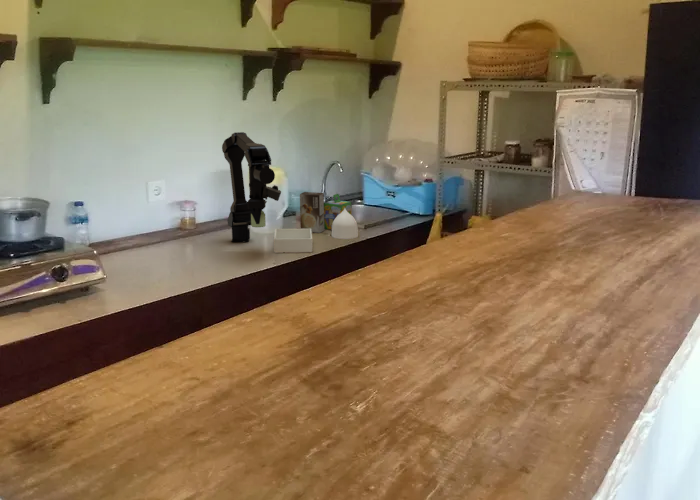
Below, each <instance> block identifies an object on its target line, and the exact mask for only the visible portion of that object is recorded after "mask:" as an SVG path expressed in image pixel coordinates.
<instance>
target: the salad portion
mask: <svg viewBox="0 0 700 500" xmlns="http://www.w3.org/2000/svg"><path fill="white" fill-rule="evenodd" d="M250 226H251V227H252V228H264V227H266V213H265V211H264V210H262V211H261V217H260V223H259V224H256V222H255V220H254V218H253V216H252V214H251V225H250Z"/></svg>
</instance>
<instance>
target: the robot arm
mask: <svg viewBox="0 0 700 500" xmlns="http://www.w3.org/2000/svg"><path fill="white" fill-rule="evenodd" d="M221 149H222V150H221V151H222V153H223V156H224V159H225V160H226V162H227V163H228V164H229V173H230V181H231V189H232V190H231V191H232V196H233V197H232V198H233V199H232V200H233V201H232V204H231V206H230V207H229V209H230V212H229V214H228V218H227V219H226V220H227V221H226V222H227V226H229V227H230V228H231V243H249V241H250V239H251V229H250V227H249V226H251V214H252V216H253V218H254V220H255V222H256V224H259V223H260V217H261V211H264V209H265V208H266V205H267V202H268V201H267V200H268V198H269V199H272V200H274V201H276V202H278V201H279V199H280V197H281V193H282V191H281V190H280V189H279V186H277V185H275V184H273V186H272V187H271V186H267V185H269V184H272V182H274V180H275V178H276V174H275V171H274V170H273V169H272V168H270V166H272V158H271V156H270V153H269V152H270V151H269V150H268V147H266V145H264V144H262V143H257V142H255V141H254V140H252V139H251V138H250V136H248V135H247V133H246V132H243V131H241V132H233V133H231V135H230V136H228V137H227V138H226V139H224V140H223V143H222V145H221ZM244 158H245V160H246V161H247V167H248V188H249V196H248V198H249V199H248V200H247V199H246V191H245V182H244V176H243V175H244V173H243V172H244V171H243V164H242V163H243V160H244Z"/></svg>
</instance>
